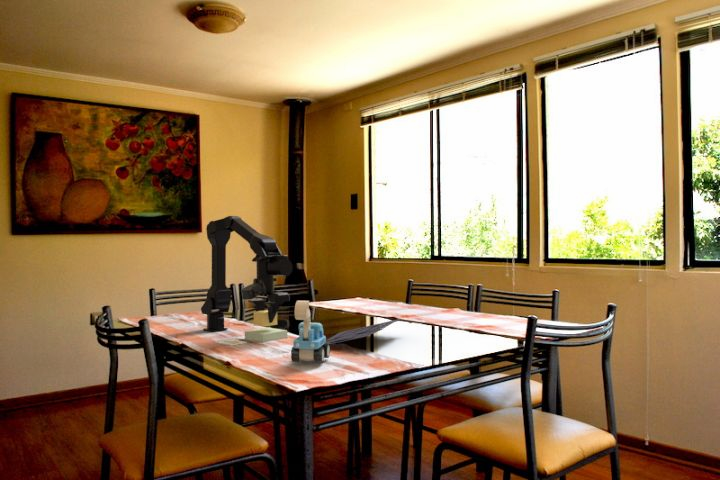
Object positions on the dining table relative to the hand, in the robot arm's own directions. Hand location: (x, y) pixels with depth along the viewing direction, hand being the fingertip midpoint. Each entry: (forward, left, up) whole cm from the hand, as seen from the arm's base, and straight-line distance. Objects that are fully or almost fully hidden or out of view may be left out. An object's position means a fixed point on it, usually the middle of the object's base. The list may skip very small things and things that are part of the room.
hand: (265, 321), depth 182 cm
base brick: (0, 0, -6) cm, 6 cm away
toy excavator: (+38, -16, -6) cm, 42 cm away
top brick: (0, 0, -1) cm, 1 cm away
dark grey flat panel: (+27, +16, -6) cm, 32 cm away
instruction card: (-2, -12, -6) cm, 13 cm away
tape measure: (-6, +14, -5) cm, 16 cm away
